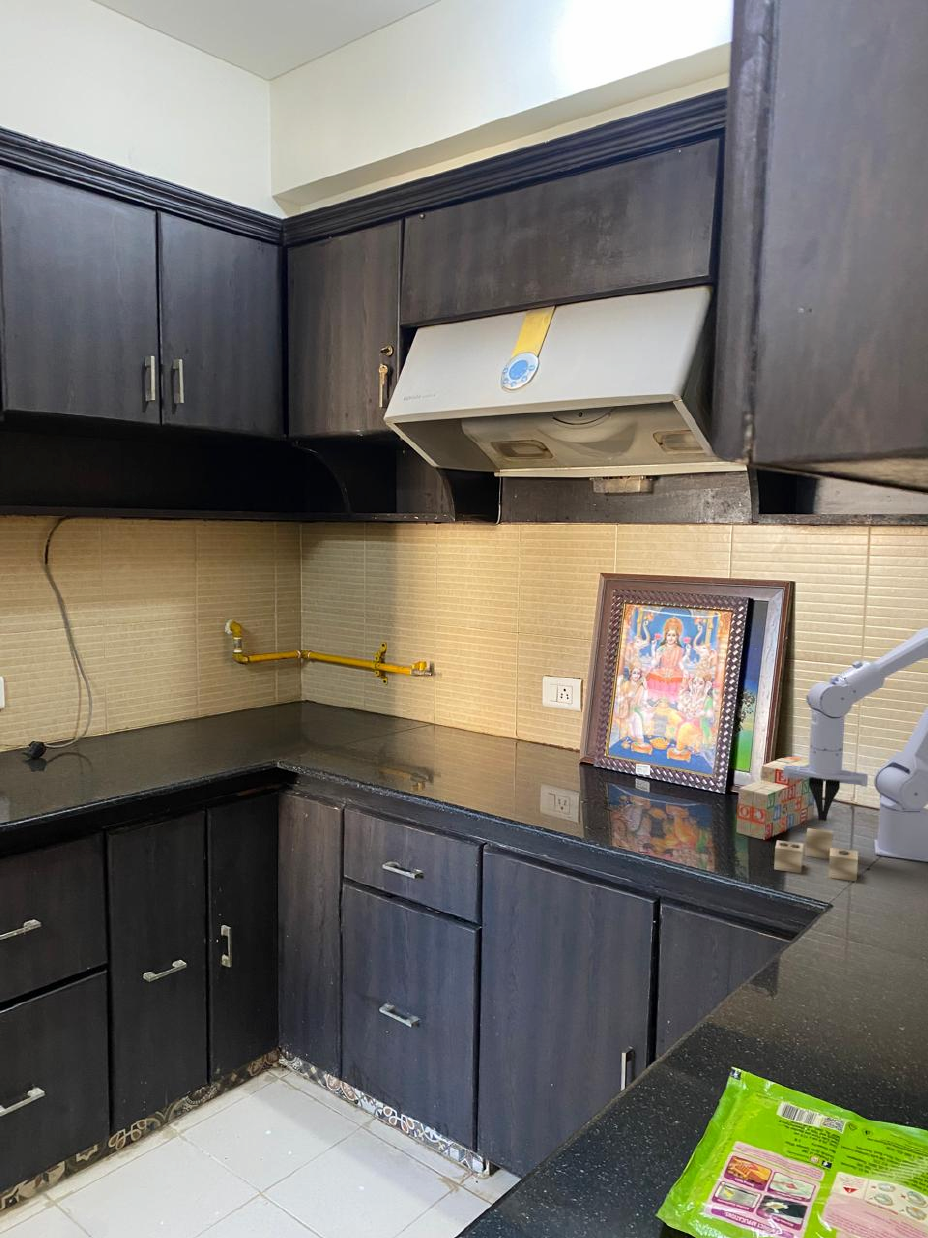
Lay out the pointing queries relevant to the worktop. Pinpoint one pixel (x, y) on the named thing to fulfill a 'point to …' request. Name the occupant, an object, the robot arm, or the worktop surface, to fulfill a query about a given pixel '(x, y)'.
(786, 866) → the two-dot maple block
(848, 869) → the one-dot maple block
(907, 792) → the robot arm
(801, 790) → the stack of blocks
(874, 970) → the worktop surface
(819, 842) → the plain maple block
